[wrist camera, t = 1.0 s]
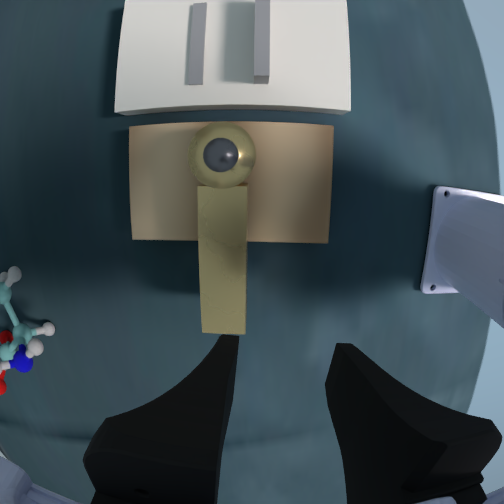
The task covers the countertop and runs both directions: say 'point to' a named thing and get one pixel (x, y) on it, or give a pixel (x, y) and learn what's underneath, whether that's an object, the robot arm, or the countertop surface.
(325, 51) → the door panel
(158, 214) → the strip
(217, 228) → the lock arm
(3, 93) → the countertop surface
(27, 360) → the molecular model
